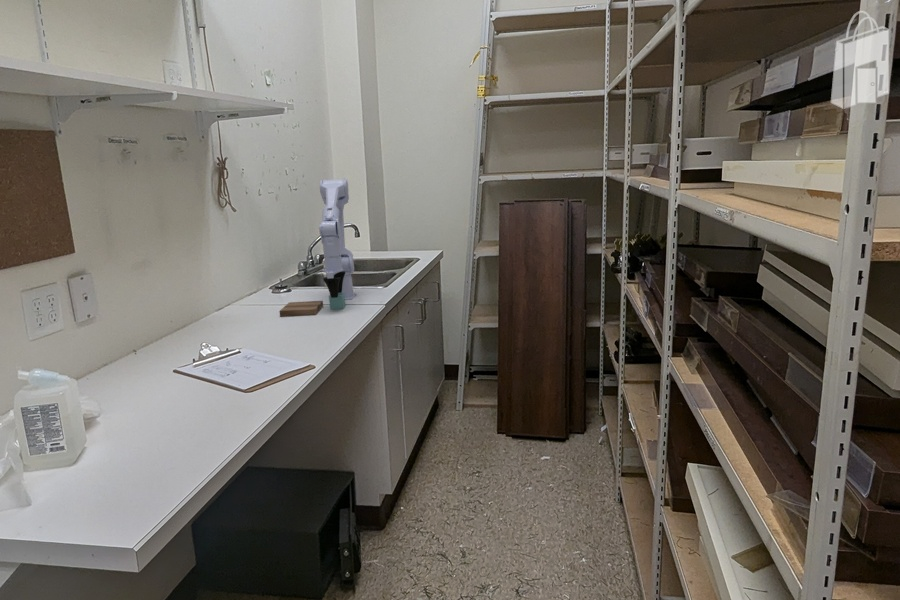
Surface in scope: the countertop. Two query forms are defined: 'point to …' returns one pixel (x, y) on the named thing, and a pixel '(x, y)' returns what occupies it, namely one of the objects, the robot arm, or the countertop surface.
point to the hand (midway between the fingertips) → (336, 295)
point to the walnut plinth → (301, 308)
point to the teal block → (337, 302)
